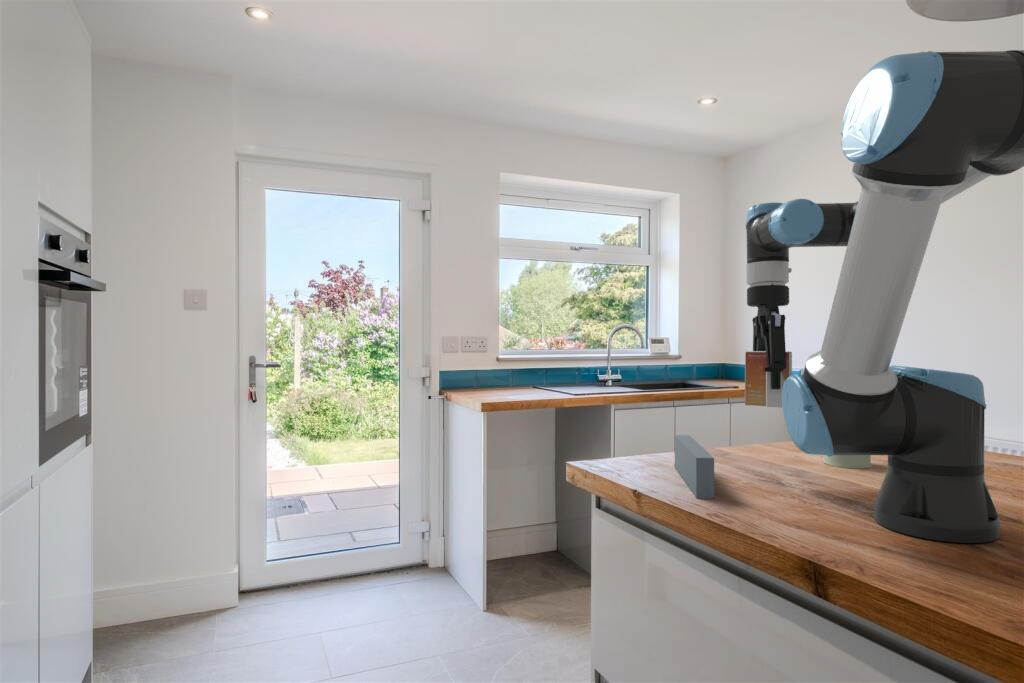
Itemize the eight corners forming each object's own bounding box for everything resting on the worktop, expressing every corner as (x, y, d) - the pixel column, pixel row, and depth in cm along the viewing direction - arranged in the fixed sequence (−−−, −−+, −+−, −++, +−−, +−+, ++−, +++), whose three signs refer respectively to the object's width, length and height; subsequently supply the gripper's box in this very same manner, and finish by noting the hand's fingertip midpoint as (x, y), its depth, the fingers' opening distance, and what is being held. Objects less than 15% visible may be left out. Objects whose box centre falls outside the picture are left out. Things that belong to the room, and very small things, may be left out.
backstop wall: (714, 498, 106) (714, 458, 106) (696, 498, 106) (696, 457, 106) (689, 468, 130) (689, 435, 130) (674, 467, 130) (674, 434, 130)
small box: (744, 406, 118) (743, 351, 118) (748, 403, 123) (748, 351, 123) (790, 408, 114) (789, 351, 114) (792, 405, 119) (792, 351, 119)
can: (880, 468, 128) (880, 411, 128) (836, 468, 129) (836, 411, 128) (856, 459, 138) (856, 406, 138) (815, 459, 138) (815, 406, 138)
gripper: (805, 280, 108) (806, 410, 108) (773, 289, 128) (774, 400, 128) (760, 280, 109) (761, 410, 109) (736, 290, 129) (736, 399, 129)
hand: (768, 404), depth 119 cm, fingers closed on small box, 7 cm apart
